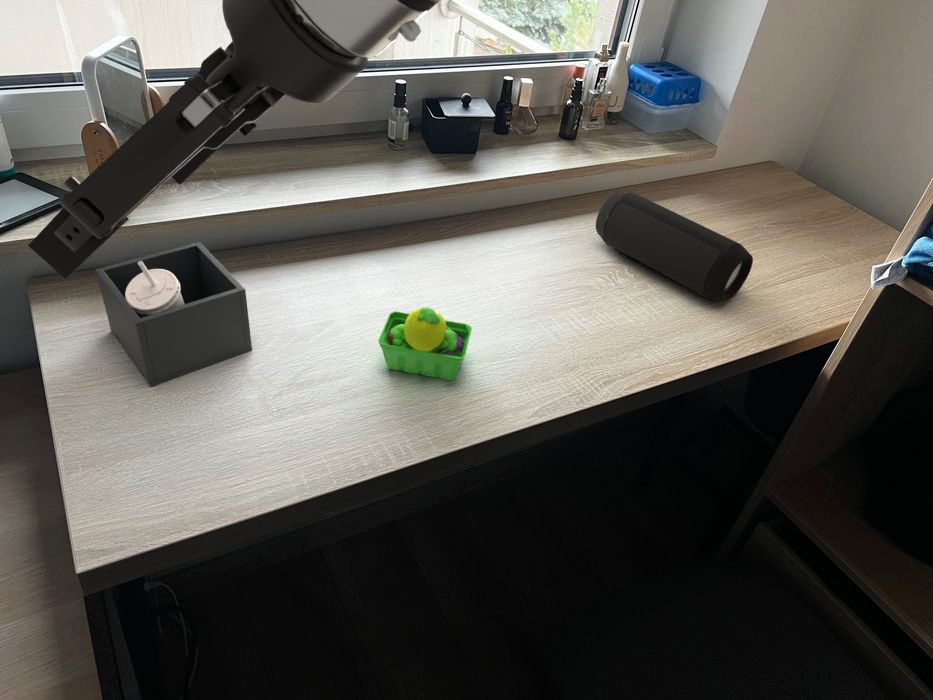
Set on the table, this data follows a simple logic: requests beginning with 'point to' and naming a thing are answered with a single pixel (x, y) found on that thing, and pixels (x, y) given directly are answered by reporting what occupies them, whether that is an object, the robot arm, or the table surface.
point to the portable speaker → (674, 245)
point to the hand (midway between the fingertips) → (115, 209)
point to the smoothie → (153, 291)
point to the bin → (179, 314)
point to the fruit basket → (424, 343)
